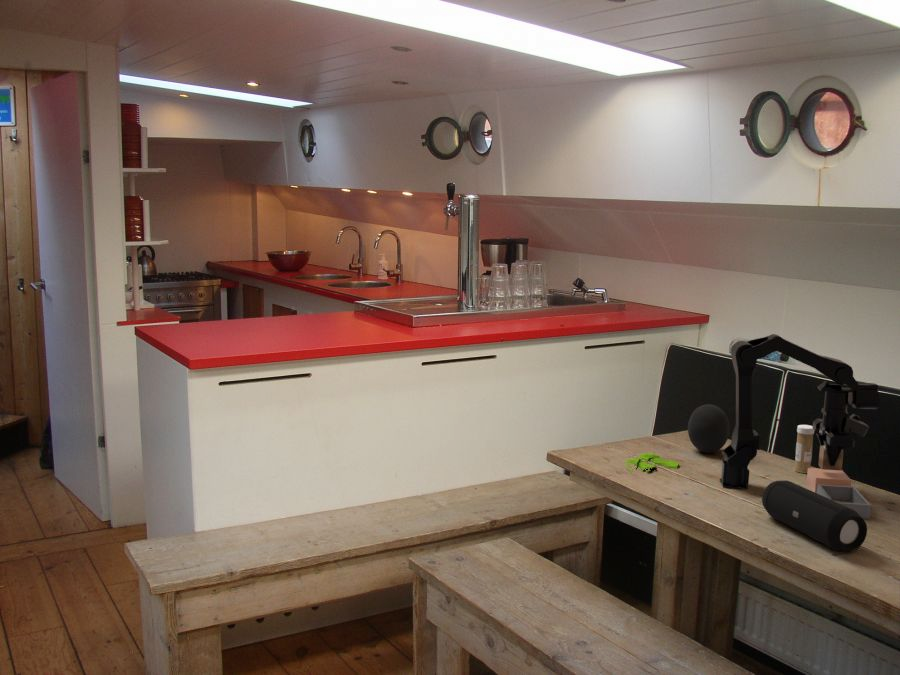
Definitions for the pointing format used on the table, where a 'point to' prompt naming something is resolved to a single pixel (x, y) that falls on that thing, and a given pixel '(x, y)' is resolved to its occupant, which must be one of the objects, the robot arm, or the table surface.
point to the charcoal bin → (847, 498)
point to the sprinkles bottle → (804, 448)
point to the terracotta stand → (826, 478)
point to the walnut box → (825, 462)
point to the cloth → (655, 460)
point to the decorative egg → (708, 428)
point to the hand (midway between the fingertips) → (830, 463)
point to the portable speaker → (815, 515)
